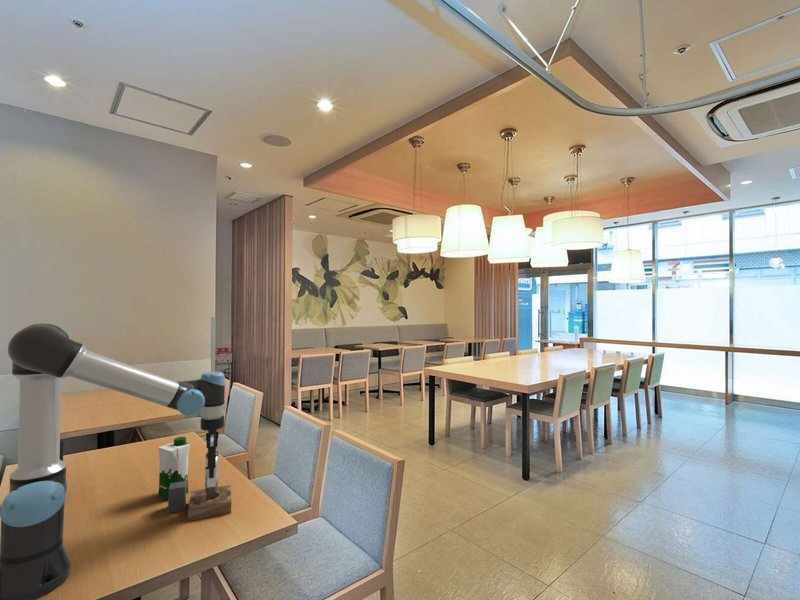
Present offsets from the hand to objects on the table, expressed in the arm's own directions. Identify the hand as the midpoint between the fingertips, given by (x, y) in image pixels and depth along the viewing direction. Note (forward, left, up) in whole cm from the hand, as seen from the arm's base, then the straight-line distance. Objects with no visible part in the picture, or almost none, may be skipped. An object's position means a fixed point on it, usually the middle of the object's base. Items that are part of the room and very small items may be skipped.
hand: (211, 483), depth 137 cm
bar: (+4, +11, -8) cm, 14 cm away
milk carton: (+16, +13, -9) cm, 22 cm away
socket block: (0, 0, -8) cm, 8 cm away
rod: (0, 0, -2) cm, 2 cm away
